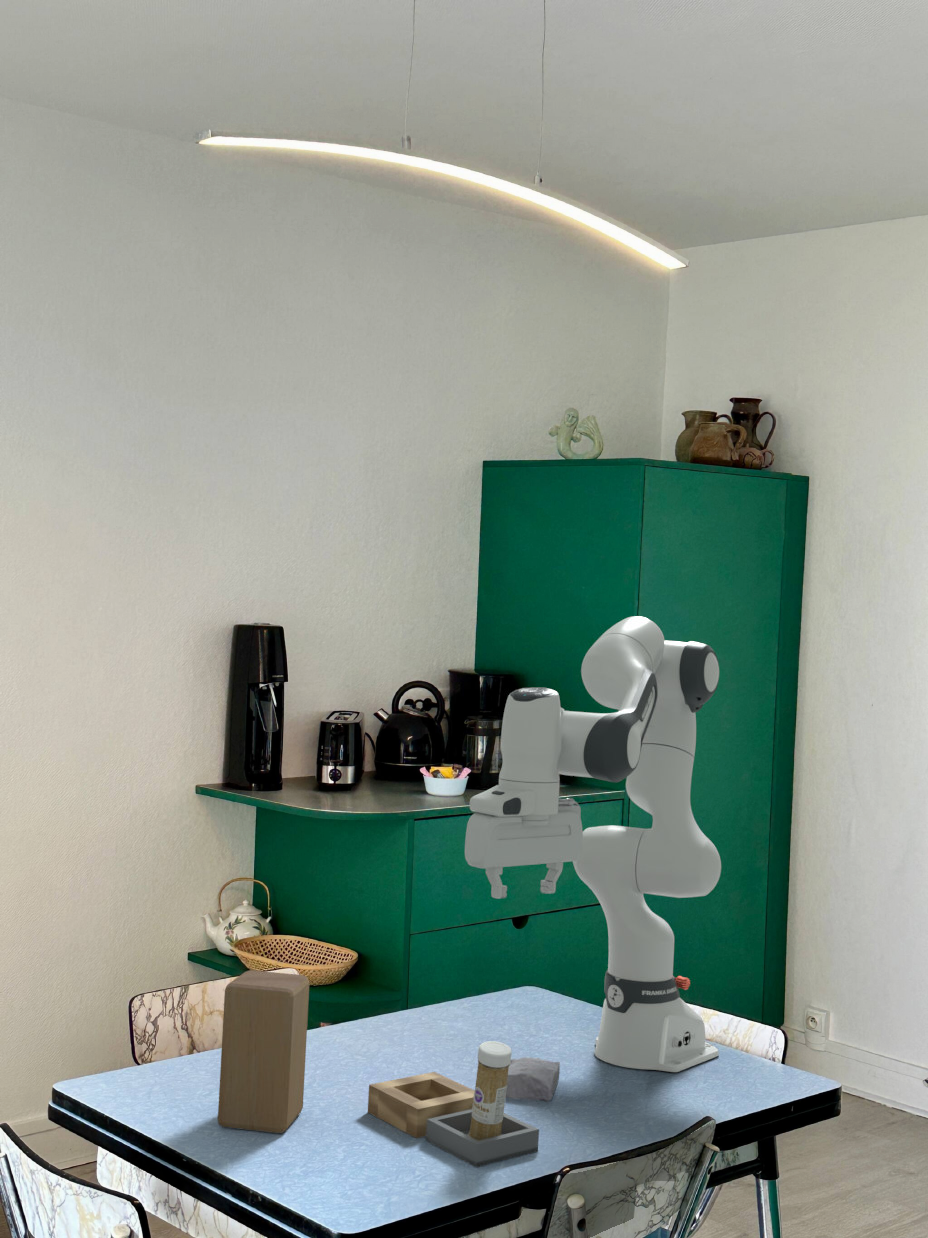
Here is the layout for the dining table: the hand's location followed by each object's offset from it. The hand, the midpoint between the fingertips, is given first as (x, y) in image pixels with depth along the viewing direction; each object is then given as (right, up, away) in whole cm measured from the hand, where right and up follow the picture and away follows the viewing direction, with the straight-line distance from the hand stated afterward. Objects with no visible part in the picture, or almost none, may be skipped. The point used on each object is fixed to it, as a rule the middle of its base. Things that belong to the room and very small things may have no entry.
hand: (523, 895), depth 195 cm
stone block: (+1, -34, +17) cm, 38 cm away
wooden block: (-38, -31, -4) cm, 49 cm away
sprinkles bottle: (-6, -32, -10) cm, 34 cm away
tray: (-6, -33, -9) cm, 35 cm away
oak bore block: (-14, -32, +1) cm, 35 cm away
